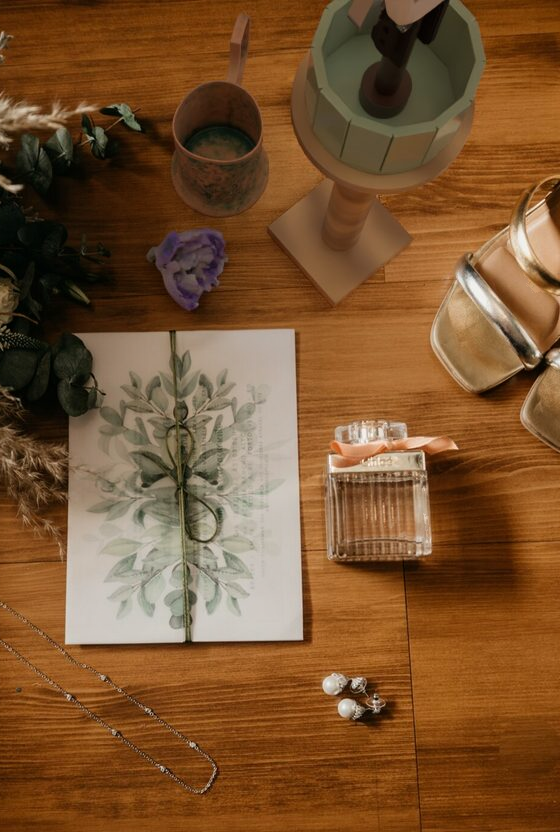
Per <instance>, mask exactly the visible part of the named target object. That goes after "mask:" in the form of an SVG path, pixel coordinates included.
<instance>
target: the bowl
mask: <svg viewBox="0 0 560 832" xmlns="http://www.w3.org/2000/svg"><path fill="white" fill-rule="evenodd" d="M353 1H354V0H332V1H331V2H330V3H328V4H327V5H326V7H325V8H324V9H323V12H322V14H321V17H320V20H319V22H318V26H317V27H316V30H315V33H314V36H313V38H312V41H311V44H310V48H309V49H310V54H309V61H308V68H307V75H306V82H305V90H304V92H305V97H306V108H307V115H308V118H309V122H310V125H311V127H312V129H313V132H314V133H315V135H316V137H317V139H318V140H319V142H320V143H321V144H322V145H323V147H324V148H325V149H326V150H327V151H328V152H329V153H330V154H331V155H332V156H334V157H335V158H336V159H337V160H339V161H340V162H342V163H344V164H345V165H347V166H349V167H351V168H354V169H356V170H359V171H363V172H366V173H371V174H379V175H390V174H399V173H403V172H407V171H410V170H413V169H416V168H418V167H420V166H422V165H424V164H426V163H427V162H429V161H430V160H431V159H433V158H434V157H435V156H437V155H438V154H439V153H440V152H441V151H442V150H443V148H444V147H445V146H446V145H447V144H448V143H450V142H451V141H452V139H453V138H454V136H455V134H456V132H457V130H458V128H459V126H460V124H461V123H462V121H463V119H464V117H465V115H466V113H467V111H468V109H469V107H470V105H471V103H472V102H473V99H474V97H475V96H476V93H477V91H478V88H479V85H480V82H481V79H482V76H483V73H484V71H485V67H486V65H487V62H486V61H487V56H486V53H485V49H484V48H485V47H484V45H483V44H484V43H483V40H482V36H481V30H480V27H479V26H480V25H479V21H478V20H477V19H476V17H475V15H474V14H473V13H471V11H470V10H469V9H468V8H467V7H466V5H464V4H463V2H461V0H450V2H449V4H448V7H447V9H446V12H445V15H444V17H443V20H442V22H441V25H440V27H439V30H438V32H437V35H436V38H435V40H434V41H432V42H431V43H430V44H429V45H426V44H425V45H424V44H423V43H422V42H421V41H420V40H419V39H418V38H416V41H415V44H414V47H413V50H412V53H411V55H410V58H409V61H408V64H407V67H406V69H407V71H408V72H409V74H410V76H411V79H412V91H411V94H410V96H409V99H408V102H407V104H406V106H405V108H404V109H403V111H402V112H401V113H399V114H398V115H397V116H395V117H392V118H389V119H379V118H375V117H373V116H371V115H369V114H368V113H367V112H366V111H365V110H364V109H363V108H362V106H361V104H360V102H359V96H358V93H359V88H360V84H361V81H362V77H363V74H364V72H365V71H366V70H367V68H368V67H369V66H371V65H372V64H374V63H376V62H378V61H381V57H382V54H381V53H380V52H379V51H378V50H377V49H376V47H375V45H374V42H373V40H372V38H371V33H372V29H373V27H370V28H368V29H366V30H364V31H359V29H358V28H357V27H356V26H355V25H354V24H353V23H352V22H351V21H350V20H349V19H348V17H347V14H348V11H349V9H350V7H351V5H352V3H353Z"/></svg>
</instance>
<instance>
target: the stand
mask: <svg viewBox="0 0 560 832" xmlns="http://www.w3.org/2000/svg"><path fill="white" fill-rule="evenodd" d="M309 54H310V48H309V49H308V50H307V51H306V53H305V54H304V56H303V58H302V59H301V60H300V62H299V65H298V67H297V70H296V71H295V75H294V78H293V81H292V87H291V93H290V101H289V103H290V105H289V107H290V108H289V109H290V113H289V114H290V120H291V125H292V129H293V133H294V136H295V139H296V141H297V143H298V145H299V147H300V149H301V150H302V152H303V154H304V156H306V158H307V159H308V160H309V162H310V163H311V165H312V166H314V168H315V169H317V170H318V171H319V172H320V173H321V174H322V175H324V176H325V177H326V178H325V179H324V180H323V181H322V182H320V183H319V184H318V185H317V186H315V187H314V188H313V189H312V190H310V191H309V192H308V193H306V194H305V195H304V196H303V197H302V198H301V199H300V200H298V201H297V202H296V203H294V204H293V205H292V206H291V207H290V208H289V209H287V210H286V211H284V212H283V213H282V214H281V215H279V216H278V217H277V218H276V219H275V220H273V222H271V223H270V224H269V225H267V229H266V233H267V234H268V235H269V237H271V239H272V240H273V241H274V242H275V243H276V244H277V245H278V247H279V248H280V249H281V250H282V251H283V253H285V254H286V256H287V257H288V258H289V259H290V260H291V262H292V263H293V264H294V265H295V266H296V267H297V268H298V269H299V271H300V272H301V273H302V274H303V275H304V276H305V277H306V278H307V279H308V281H309V282H310V283H311V284H312V285H313V286H314V288H315V289H316V290H317V291H318V292H319V293H320V294H321V295H322V296H323V298H324V299H325V300H326V301H327V302H328V303H329V304H330V305H331V307H332V308H335V307H337V306H338V305H340V303H341V302H343V301H344V300H345V299H346V298H347V297H349V296H350V295H351V294H352V293H353V292H355V291H356V290H357V289H358V288H360V287H361V286H362V285H363V284H365V283H366V282H367V281H368V280H369V279H370V278H372V277H373V276H374V275H375V274H376V273H378V272H379V271H380V270H382V269H383V268H384V267H385V266H386V265H387V264H388V263H390V262H391V261H392V260H393V259H394V258H396V257H397V256H398V255H399V254H401V253H402V252H403V251H404V250H405V249H407V248H408V247H409V246H410V245H412V243H413V240H414V237H413V236H412V235H411V234H410V233H409V232H408V230H406V228H405V227H404V226H403V225H402V224H401V222H399V221H398V219H397V218H396V217H395V216H394V215H393V214H392V213H391V211H389V209H387V207H386V206H385V205H384V204H383V203H382V202H381V201H380V199H379V198H378V197H377V196H389V195H398V194H403V193H407V192H411V191H414V190H416V189H419V188H422V187H424V186H425V185H427V184H429V183H432V182H433V181H434V180H436V179H437V178H438V177H439V176H441V175H442V174H443V173H444V172H445V171H447V170H448V169H449V168H450V167H451V165H452V164H453V163H454V162H455V160H456V159H457V158H458V157H459V155H460V153H461V152H462V149H463V148H464V146H465V144H466V142H467V140H468V139H469V135H470V133H471V131H472V128H473V127H472V126H473V125H474V124H473V123H474V118H475V110H476V97H475V96H474V99H473V102H472V103H471V105H470V107H469V109H468V111H467V113H466V115H465V117H464V119H463V121H462V123H461V124H460V126H459V128H458V130H457V132H456V134H455V136H454V138H453V139H452V141H451V142H450V143H448V144H447V145H446V146H445V147H444V148H443V150H442V151H441V152H440V153H439V154H438V155H437V156H435V157H434V158H433V159H431V160H430V161H429V162H427V163H426V164H424V165H422V166H420V167H418V168H416V169H413V170H410V171H407V172H403V173H399V174H390V175H379V174H371V173H366V172H363V171H359V170H356V169H354V168H351V167H349V166H347V165H345V164H344V163H342V162H340V161H339V160H337V159H336V158H335V157H334V156H332V155H331V154H330V153H329V152H328V151H327V150H326V149H325V148H324V147H323V145H322V144H321V143H320V142H319V140H318V139H317V137H316V135H315V133H314V132H313V129H312V127H311V125H310V122H309V118H308V115H307V108H306V97H305V92H304V90H305V82H306V75H307V68H308V61H309Z"/></svg>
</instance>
